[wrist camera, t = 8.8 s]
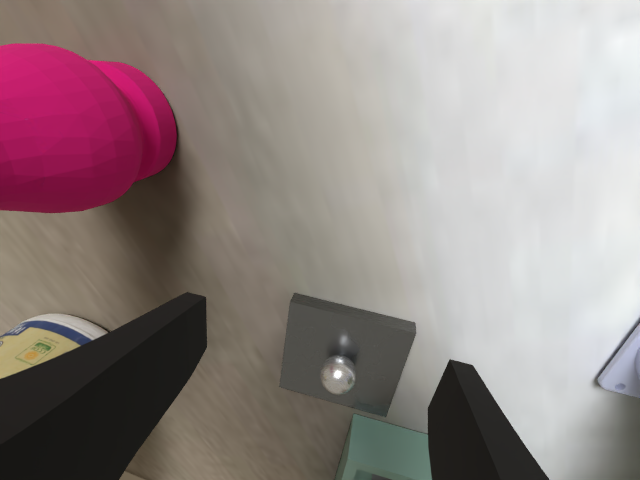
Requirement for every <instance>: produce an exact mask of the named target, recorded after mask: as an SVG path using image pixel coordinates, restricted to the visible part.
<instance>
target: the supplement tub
mask: <svg viewBox="0 0 640 480" xmlns="http://www.w3.org/2000/svg"><path fill="white" fill-rule="evenodd" d="M107 333H108V332H107V331H106V330H104V329H102V328H101V327H99V326H97V325H95V324H93V323H91V322H89V321H87V320H84V319H82V318H79V317H75V316H71V315H66V314H44V315H39V316H36V317H33V318H30V319H28V320H25V321H23V322H21V323H20V324H18V325H17V326H16V327H14V328H13V329H11V330H10V331H8V332H7V333H5V334H4V335H2V336H1V337H0V379H1V378H4V377H7V376H9V375H12V374H15V373H17V372H20V371H22V370H25V369H27V368H30V367H32V366H35V365H38V364H40V363H43V362H45V361H47V360H50V359H52V358H55V357H57V356H59V355H62V354H64V353H66V352H68V351H71V350H73V349H75V348H77V347H79V346H81V345H83V344H86V343H88V342H90V341H92V340H94V339H96V338H98V337H100V336H103V335H105V334H107Z"/></svg>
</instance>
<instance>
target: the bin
mask: <svg viewBox="0 0 640 480" xmlns="http://www.w3.org/2000/svg"><path fill="white" fill-rule="evenodd" d="M372 474H375V475H379V476H382V477H385V478H388V479H392V480H432V476H431V467H430V459H429V449H428V435H427V434H424V433H420V432H417V431H413V430H410V429H406V428H403V427H399V426H396V425H392V424H389V423H385V422H382V421H378V420H374V419H371V418H367V417H364V416H360V415H357V414H353V417H352V421H351V424H350V428H349V431H348V435H347V438H346V442H345V445H344V448H343V452H342V455H341V459H340V462H339V466H338V469H337V472H336V476H335V479H334V480H372Z"/></svg>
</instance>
